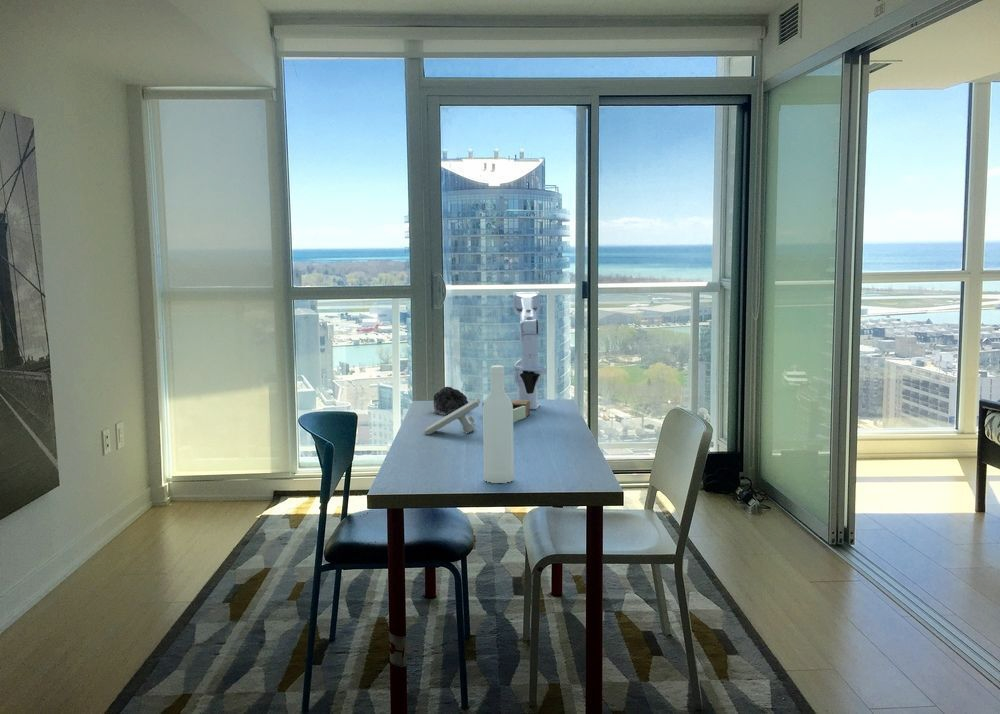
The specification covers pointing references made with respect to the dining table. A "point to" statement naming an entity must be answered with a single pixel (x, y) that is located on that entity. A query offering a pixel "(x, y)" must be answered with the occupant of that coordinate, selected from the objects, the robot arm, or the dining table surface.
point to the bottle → (498, 431)
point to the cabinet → (521, 403)
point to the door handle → (454, 415)
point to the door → (519, 413)
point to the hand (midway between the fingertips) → (530, 393)
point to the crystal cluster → (448, 400)
